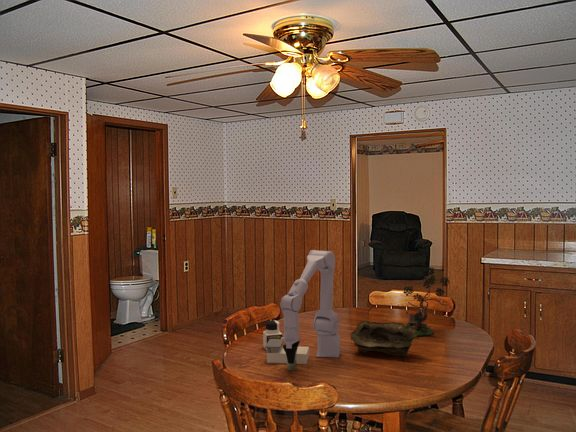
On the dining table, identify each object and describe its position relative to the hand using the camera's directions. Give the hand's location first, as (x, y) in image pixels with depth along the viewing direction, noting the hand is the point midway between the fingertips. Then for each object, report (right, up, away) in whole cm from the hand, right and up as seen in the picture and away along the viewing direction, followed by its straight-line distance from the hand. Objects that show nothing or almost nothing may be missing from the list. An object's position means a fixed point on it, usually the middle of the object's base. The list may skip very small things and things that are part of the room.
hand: (291, 361), depth 196 cm
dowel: (0, -3, 0) cm, 3 cm away
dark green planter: (+39, -2, +17) cm, 42 cm away
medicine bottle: (-8, -2, +28) cm, 29 cm away
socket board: (-1, -3, +12) cm, 12 cm away
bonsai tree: (+65, 0, +53) cm, 84 cm away
